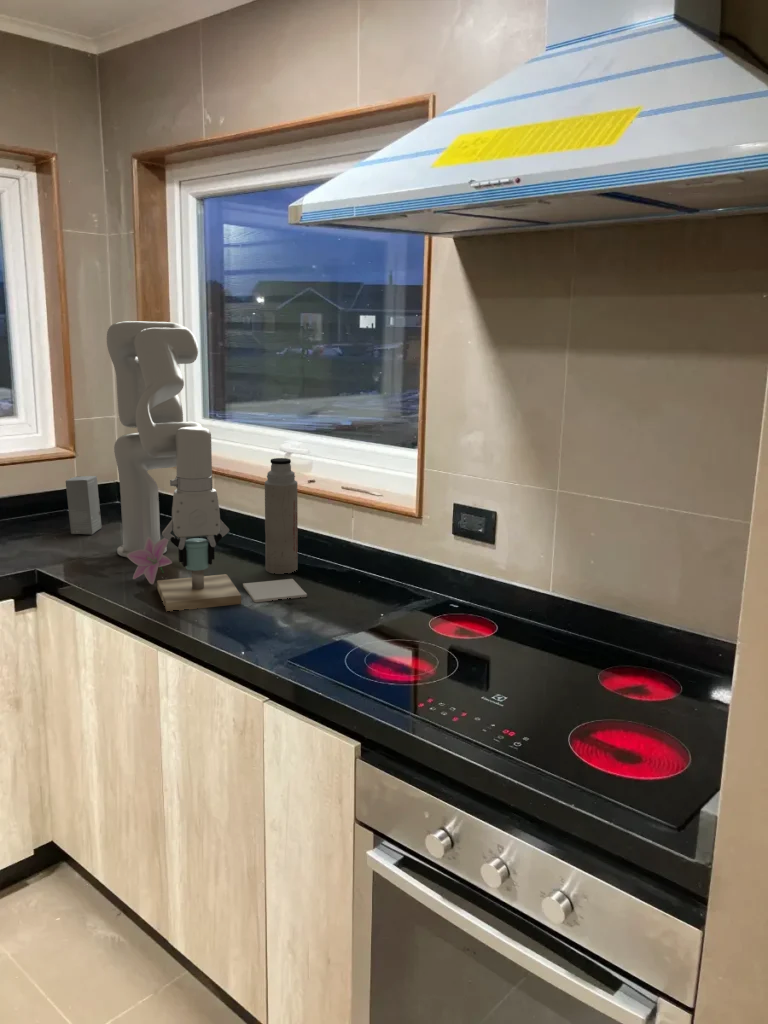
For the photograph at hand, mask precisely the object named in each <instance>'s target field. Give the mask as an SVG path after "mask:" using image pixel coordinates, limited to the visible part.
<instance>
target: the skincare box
mask: <svg viewBox="0 0 768 1024" xmlns="http://www.w3.org/2000/svg"><path fill="white" fill-rule="evenodd" d="M65 488H66V489H65V490H66V497H67V507H68V518H69V525H70V528H69V529H70V534H71V535H94V534H95V533H96V532H98V531H99V530H100V529H102V518H101V516H102V515H101V509H100V507H101V506H100V497H99V486H98V476H97V475H87V476H86V475H85V476H84V475H83V476H81V475H80V476H78V475H77V476H73V477H70V478H68V479H67V480H65Z"/></svg>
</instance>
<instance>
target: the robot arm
mask: <svg viewBox="0 0 768 1024" xmlns="http://www.w3.org/2000/svg"><path fill="white" fill-rule="evenodd" d="M197 341H198V340H197V339H196V336H195V335H194V333H193V332H192V330H190V329H189V328H188V327H187V326H184V325H181V324H180V323H177V322H172V321H171V322H170V321H168V322H167V321H137V320H135V321H134V320H133V321H131V320H128V321H120V322H115V323H113V324H111V325H109V327H108V329H107V331H106V346H107V351H108V354H109V356H110V357H109V358H110V359H111V362H112V364H113V368H114V372H115V376H116V377H115V378H116V379H115V380H116V397H117V411H118V418H119V422H120V423H121V424H122V425H123V426H124V427H126V428H130V429H135V428H136V429H137V432H132V433H127V434H124V435H120V436H119V437H118V438H117V439H116V440H115V442H114V446H113V447H114V448H113V450H114V451H113V452H114V457H115V462H116V467H117V470H118V480H119V493H120V506H121V507H120V509H121V510H120V511H121V513H120V514H121V529H122V530H121V531H122V545H120V546H118V547H117V549H116V551H117V555H119V556H120V557H124V558H128V557H127V554H128V553H130V552H133V551H136V550H140V549H144V546H145V543H146V540H147V538H148V537H150V538H151V540H152V541H153V543H154V544H155V543H156V542H158V541H159V540H161V536H162V537H163V538H166V539H168V540H169V541H170V542H171V543H172V544H173V545H174V546H175V547H177V548H178V549H177V550H178V562H179V563H181V565H182V566H183V568H186V566H187V553H186V548H185V546H184V545H185V541H186V540H187V538H199V537H206V538H207V540H208V565H213V560H215V547H216V545H217V544H218V543H219V542H220V541H221V540H222V538H223V537H225V536H226V535H227V534H228V533H229V532H230V528H229V527H228V526H227V525H226V524H225V523H224V522H223V521H222V519H221V514H220V505H219V504H220V503H219V498H218V492H217V490H216V489H215V488H213V466H212V465H213V464H212V463H213V460H212V459H213V457H212V456H213V455H212V454H213V453H212V434H211V431H210V429H208V428H207V427H204V426H203V424H201V423H199V422H197V421H196V422H195V421H184V413H183V404H182V401H181V397H180V396H179V394H180V393H181V392H182V390H183V389H184V386H185V381H184V378H183V375H182V372H181V369H180V366H179V365H188V364H189V365H190V364H192V363H194V362H196V360H197V358H198V355H199V344H198V342H197ZM167 468H168V469H170V468H176V476H175V478H174V479H169V486H170V487H175V488H176V489H174V490H173V497H172V504H171V520H170V521H169V522H168V524H167V525H166V526H165V528H164V529H163V531H162V532H161V528H160V527H161V524H160V501H159V500H160V499H159V498H160V497H159V487H158V484H157V482H156V480H155V479H154V478H153V477H152V476H151V475H150V474H149V471H150V470H156V469H167ZM171 532H173V534H174V535H173V534H171ZM169 541H168V542H169ZM167 548H168V547H167V546H166V548H165V550H164V553H163V554H165V553H166V552H167V550H168V549H167Z"/></svg>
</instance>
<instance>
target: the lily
mask: <svg viewBox="0 0 768 1024" xmlns="http://www.w3.org/2000/svg"><path fill="white" fill-rule="evenodd" d="M168 544H169V540H168V539H166V538H165V537H163V538H162V539H161V538H160V540H159V541H158V542H156V543H155V544H154V543H153V541H152V540H151V538H150V537H148V538H147V540H146V543H145V546H144V549H140V550H136V551H133V552H130V553H128V554H127V557H126V558H127V559H129V560H130V561H131V562H132V563H134V564H135V565H136V566H137V567H136V568H135V571H134V573H133V576H132V580H136V579H138V578H139V577H141V576H143V575H144V576H145V578H146V579H147V581H148V583H149V584H150V585H154V584H155V581H156V578H157V577H156V576H157V573H158V569H159V568H160V570H161V572H162V574H164V570H163V568H162V567H166V566H169V565H171V564H173V561H172V559H170V558H169V557H168V556H166V555H165V553H164V550H165V548H166V546H167V545H168Z"/></svg>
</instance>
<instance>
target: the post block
mask: <svg viewBox="0 0 768 1024" xmlns="http://www.w3.org/2000/svg"><path fill="white" fill-rule="evenodd" d="M204 570H205V569H204ZM204 570H197V571H193V570H191V577H183V578H182V577H180V578H170V579H161V580H156V587H157V588H156V589H157V592H158V594H159V598H160V599H161V602H162V601H163V602H162V604H163V606H165V607H164V609H165V611H166V612H167V611H170V612H174V611H173V610H179V611H185V610H184V609H189V610H195V609H196V610H198V609H205V608H215V607H224V606H225V607H226V606H233V605H242V594H241V592H239V590H238V588H237V587H236V586H235V584H234V582H233V581H232V580H231V578H230V577H229V576H228V574H225V573H224V574H215V575H214V574H213V575H204V574H205V573H204ZM197 608H198V609H197Z"/></svg>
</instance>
